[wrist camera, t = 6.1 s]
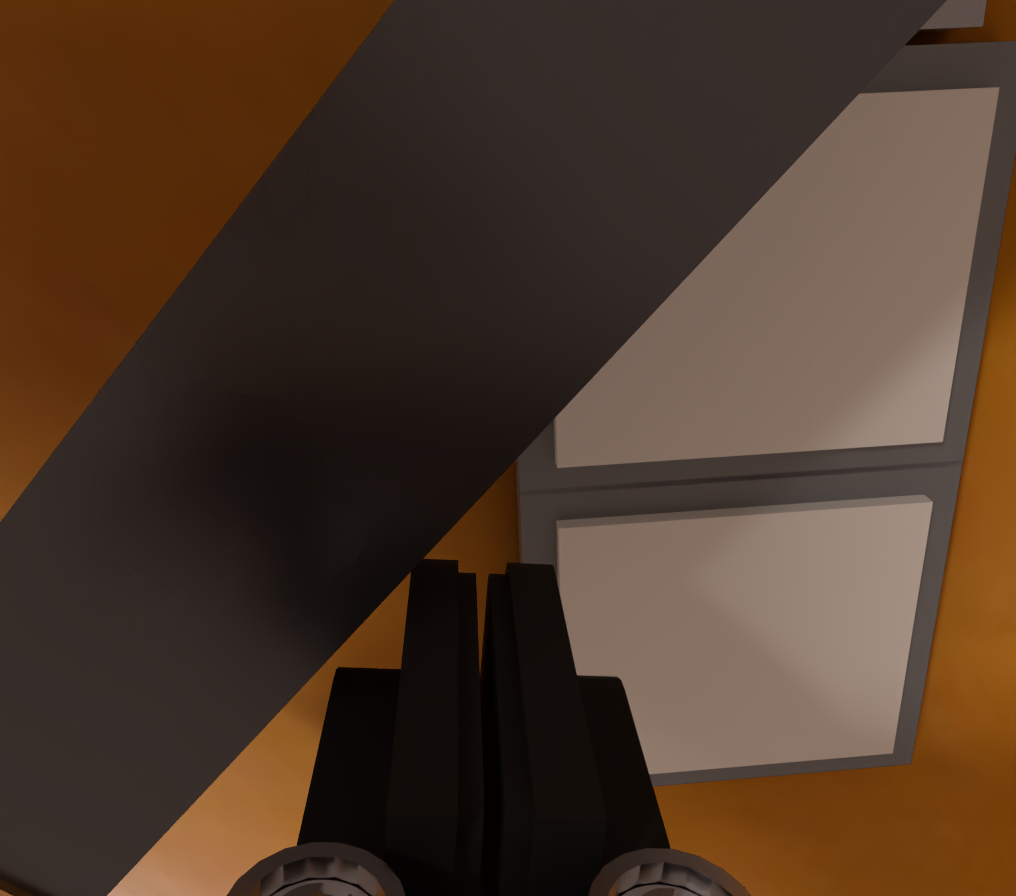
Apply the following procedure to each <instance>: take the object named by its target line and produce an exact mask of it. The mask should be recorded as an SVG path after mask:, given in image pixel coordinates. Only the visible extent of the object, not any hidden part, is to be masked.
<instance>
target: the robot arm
mask: <svg viewBox="0 0 1016 896" xmlns="http://www.w3.org/2000/svg"><path fill="white" fill-rule="evenodd" d="M227 896H751V895H750V894H749V893H748V891H747V890H746V889H745V887H744V886H742V885H741V884H740V883H739V882H738V881H737V880H735V879H734V878H733V877H732V876H731V875H729V874H728V873H727V872H726V871H725V870H723V869H722V868H720V867H718V866H716V865H714V864H712V863H710V862H709V861H707V860H705V859H703V858H701V857H699V856H696V855H693V854H689V853H685V852H681V851H678V850H674V849H671V848H670V845H669V841H668V838H667V834H666V831H665V827H664V824H663V820H662V817H661V813H660V810H659V806H658V803H657V799H656V796H655V792H654V789H653V786H652V782H651V779H650V775H649V772H648V768H647V765H646V761H645V758H644V754H643V751H642V747H641V744H640V740H639V737H638V733H637V730H636V727H635V723H634V720H633V716H632V713H631V709H630V706H629V702H628V699H627V695H626V692H625V688H624V686H623V683H622V681H621V679H620V678H618V677H613V676H584V675H577V673H576V669H575V664H574V659H573V654H572V650H571V645H570V640H569V635H568V630H567V626H566V621H565V616H564V611H563V607H562V602H561V597H560V592H559V588H558V583H557V578H556V573H555V569H554V566H553V565H552V564H529V563H507V565H506V571H505V574H489V577H488V586H487V598H486V610H485V623H484V635H483V647H482V660H481V672H480V673H479V645H478V618H477V591H476V573H458V560H437V559H422V560H421V561H420V562H419V563H418V564H417V566H416V567H415V568H414V569H413V570H412V571H411V578H410V588H409V597H408V607H407V617H406V626H405V636H404V646H403V655H402V665H401V669H377V668H348V667H338V668H337V670H336V672H335V676H334V680H333V684H332V689H331V693H330V698H329V702H328V707H327V711H326V716H325V720H324V725H323V729H322V734H321V738H320V743H319V747H318V752H317V757H316V761H315V766H314V770H313V775H312V779H311V784H310V788H309V793H308V797H307V802H306V806H305V811H304V815H303V820H302V824H301V829H300V833H299V838H298V842H297V846H294V847H290V848H285V849H283V850H281V851H279V852H277V853H275V854H273V855H271V856H269V857H267V858H265V859H263V860H261V861H259V862H258V863H257V864H256V865H254V866H253V867H252V868H251V869H250V870H248V871H247V872H246V873H245V874H244V875H243V876H241V877H240V878H239V879H238V880H237V881H236V883H235V884H234V886H233V887H232V889H231V890H230V892H229V893H228V894H227Z"/></svg>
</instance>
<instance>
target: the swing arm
mask: <svg viewBox="0 0 1016 896" xmlns="http://www.w3.org/2000/svg"><path fill="white" fill-rule="evenodd" d="M946 1H947V0H395V1H394V2H393V3H392V5H391V6H390V7H389V9H388V10H387V11H386V13H385V14H384V15H383V17H382V18H381V19H380V21H379V22H378V23H377V25H376V26H375V27H374V29H373V30H372V31H371V33H370V34H369V35H368V36H367V38H366V39H365V40H364V42H363V43H362V44H361V46H360V47H359V48H358V50H357V51H356V52H355V54H354V55H353V56H352V58H351V59H350V60H349V62H348V63H347V64H346V66H345V67H344V68H343V70H342V71H341V72H340V74H339V75H338V76H337V78H336V79H335V80H334V81H333V83H332V84H331V85H330V87H329V88H328V89H327V91H326V92H325V93H324V95H323V96H322V97H321V99H320V100H319V101H318V103H317V104H316V105H315V107H314V108H313V109H312V111H311V112H310V113H309V115H308V116H307V117H306V119H305V120H304V121H303V122H302V124H301V125H300V126H299V128H298V129H297V130H296V132H295V133H294V134H293V136H292V137H291V138H290V140H289V141H288V142H287V144H286V145H285V146H284V148H283V149H282V150H281V152H280V153H279V154H278V156H277V157H276V158H275V160H274V161H273V162H272V163H271V165H270V166H269V167H268V169H267V170H266V171H265V173H264V174H263V175H262V177H261V178H260V179H259V181H258V182H257V183H256V185H255V186H254V187H253V189H252V190H251V191H250V193H249V194H248V195H247V197H246V198H245V199H244V201H243V202H242V203H241V205H240V206H239V207H238V208H237V210H236V211H235V212H234V214H233V215H232V216H231V218H230V219H229V220H228V222H227V223H226V224H225V226H224V227H223V228H222V230H221V231H220V232H219V234H218V235H217V236H216V238H215V239H214V240H213V242H212V243H211V244H210V246H209V247H208V248H207V249H206V251H205V252H204V253H203V255H202V256H201V257H200V259H199V260H198V261H197V263H196V264H195V265H194V267H193V268H192V269H191V271H190V272H189V273H188V275H187V276H186V277H185V279H184V280H183V281H182V283H181V284H180V285H179V287H178V288H177V289H176V291H175V292H174V293H173V294H172V296H171V297H170V298H169V300H168V301H167V302H166V304H165V305H164V306H163V308H162V309H161V310H160V312H159V313H158V314H157V316H156V317H155V318H154V320H153V321H152V322H151V324H150V325H149V326H148V328H147V329H146V330H145V332H144V333H143V334H142V335H141V337H140V338H139V339H138V341H137V342H136V343H135V345H134V346H133V347H132V349H131V350H130V351H129V353H128V354H127V355H126V357H125V358H124V359H123V361H122V362H121V363H120V365H119V366H118V367H117V369H116V370H115V371H114V373H113V374H112V375H111V376H110V378H109V379H108V380H107V382H106V383H105V384H104V386H103V387H102V388H101V390H100V391H99V392H98V394H97V395H96V396H95V398H94V399H93V400H92V402H91V403H90V404H89V406H88V407H87V408H86V410H85V411H84V412H83V414H82V415H81V416H80V418H79V419H78V420H77V421H76V423H75V424H74V425H73V427H72V428H71V429H70V431H69V432H68V433H67V435H66V436H65V437H64V439H63V440H62V441H61V443H60V444H59V445H58V447H57V448H56V449H55V451H54V452H53V453H52V455H51V456H50V457H49V459H48V460H47V461H46V462H45V464H44V465H43V466H42V468H41V469H40V470H39V472H38V473H37V474H36V476H35V477H34V478H33V480H32V481H31V482H30V484H29V485H28V486H27V488H26V489H25V490H24V492H23V493H22V494H21V496H20V497H19V498H18V500H17V501H16V502H15V503H14V505H13V506H12V507H11V509H10V510H9V511H8V513H7V514H6V515H5V517H4V518H3V519H2V521H1V522H0V896H107V895H108V894H109V893H110V892H111V891H112V890H113V888H114V887H115V886H116V885H117V884H118V883H119V882H120V881H121V880H122V879H123V878H124V877H125V876H126V875H127V874H128V872H129V871H130V870H131V869H132V868H133V867H134V866H135V865H136V864H137V863H138V862H139V861H140V860H141V859H142V858H143V856H144V855H145V854H146V853H147V852H148V851H149V850H150V849H151V848H152V847H153V846H154V845H155V844H156V843H157V842H158V841H159V839H160V838H161V837H162V836H163V835H164V834H165V833H166V832H167V831H168V830H169V829H170V828H171V827H172V826H173V825H174V823H175V822H176V821H177V820H178V819H179V818H180V817H181V816H182V815H183V814H184V813H185V812H186V811H187V810H188V809H189V807H190V806H191V805H192V804H193V803H194V802H195V801H196V800H197V799H198V798H199V797H200V796H201V795H202V794H203V793H204V791H205V790H206V789H207V788H208V787H209V786H210V785H211V784H212V783H213V782H214V781H215V780H216V779H217V778H218V777H219V775H220V774H221V773H222V772H223V771H224V770H225V769H226V768H227V767H228V766H229V765H230V764H231V763H232V762H233V761H234V760H235V758H236V757H237V756H238V755H239V754H240V753H241V752H242V751H243V750H244V749H245V748H246V747H247V746H248V745H249V744H250V742H251V741H252V740H253V739H254V738H255V737H256V736H257V735H258V734H259V733H260V732H261V731H262V730H263V729H264V728H265V726H266V725H267V724H268V723H269V722H270V721H271V720H272V719H273V718H274V717H275V716H276V715H277V714H278V713H279V712H280V710H281V709H282V708H283V707H284V706H285V705H286V704H287V703H288V702H289V701H290V700H291V699H292V698H293V697H294V696H295V694H296V693H297V692H298V691H299V690H300V689H301V688H302V687H303V686H304V685H305V684H306V683H307V682H308V681H309V680H310V679H311V677H312V676H313V675H314V674H315V673H316V672H317V671H318V670H319V669H320V668H321V667H322V666H323V665H324V664H325V663H326V661H327V660H328V659H329V658H330V657H331V656H332V655H333V654H334V653H335V652H336V651H337V650H338V649H339V648H340V647H341V645H342V644H343V643H344V642H345V641H346V640H347V639H348V638H349V637H350V636H351V635H352V634H353V633H354V632H355V631H356V629H357V628H358V627H359V626H360V625H361V624H362V623H363V622H364V621H365V620H366V619H367V618H368V617H369V616H370V615H371V613H372V612H373V611H374V610H375V609H376V608H377V607H378V606H379V605H380V604H381V603H382V602H383V601H384V600H385V599H386V598H387V596H388V595H389V594H390V593H391V592H392V591H393V590H394V589H395V588H396V587H397V586H398V585H399V584H400V583H401V582H402V580H403V579H404V578H405V577H406V576H407V575H408V574H409V573H410V572H411V571H412V570H413V569H414V568H415V567H416V566H417V564H418V563H419V562H420V561H421V560H422V559H423V558H424V557H425V556H426V555H427V554H428V553H429V552H430V551H431V550H432V548H433V547H434V546H435V545H436V544H437V543H438V542H439V541H440V540H441V539H442V538H443V537H444V536H445V535H446V534H447V533H448V531H449V530H450V529H451V528H452V527H453V526H454V525H455V524H456V523H457V522H458V521H459V520H460V519H461V518H462V517H463V515H464V514H465V513H466V512H467V511H468V510H469V509H470V508H471V507H472V506H473V505H474V504H475V503H476V502H477V501H478V499H479V498H480V497H481V496H482V495H483V494H484V493H485V492H486V491H487V490H488V489H489V488H490V487H491V486H492V485H493V483H494V482H495V481H496V480H497V479H498V478H499V477H500V476H501V475H502V474H503V473H504V472H505V471H506V470H507V469H508V467H509V466H510V465H511V464H512V463H513V462H514V461H515V460H516V459H517V458H518V457H519V456H520V455H521V454H522V453H523V452H524V450H525V449H526V448H527V447H528V446H529V445H530V444H531V443H532V442H533V441H534V440H535V439H536V438H537V437H538V436H539V434H540V433H541V432H542V431H543V430H544V429H545V428H546V427H547V426H548V425H549V424H550V423H551V422H552V421H553V420H554V418H555V417H556V416H557V415H558V414H559V413H560V412H561V411H562V410H563V409H564V408H565V407H566V406H567V405H568V404H569V402H570V401H571V400H572V399H573V398H574V397H575V396H576V395H577V394H578V393H579V392H580V391H581V390H582V389H583V388H584V386H585V385H586V384H587V383H588V382H589V381H590V380H591V379H592V378H593V377H594V376H595V375H596V374H597V373H598V372H599V371H600V369H601V368H602V367H603V366H604V365H605V364H606V363H607V362H608V361H609V360H610V359H611V358H612V357H613V356H614V355H615V353H616V352H617V351H618V350H619V349H620V348H621V347H622V346H623V345H624V344H625V343H626V342H627V341H628V340H629V339H630V337H631V336H632V335H633V334H634V333H635V332H636V331H637V330H638V329H639V328H640V327H641V326H642V325H643V324H644V323H645V321H646V320H647V319H648V318H649V317H650V316H651V315H652V314H653V313H654V312H655V311H656V310H657V309H658V308H659V307H660V305H661V304H662V303H663V302H664V301H665V300H666V299H667V298H668V297H669V296H670V295H671V294H672V293H673V292H674V291H675V290H676V288H677V287H678V286H679V285H680V284H681V283H682V282H683V281H684V280H685V279H686V278H687V277H688V276H689V275H690V274H691V272H692V271H693V270H694V269H695V268H696V267H697V266H698V265H699V264H700V263H701V262H702V261H703V260H704V259H705V258H706V256H707V255H708V254H709V253H710V252H711V251H712V250H713V249H714V248H715V247H716V246H717V245H718V244H719V243H720V242H721V240H722V239H723V238H724V237H725V236H726V235H727V234H728V233H729V232H730V231H731V230H732V229H733V228H734V227H735V226H736V224H737V223H738V222H739V221H740V220H741V219H742V218H743V217H744V216H745V215H746V214H747V213H748V212H749V211H750V210H751V209H752V207H753V206H754V205H755V204H756V203H757V202H758V201H759V200H760V199H761V198H762V197H763V196H764V195H765V194H766V193H767V191H768V190H769V189H770V188H771V187H772V186H773V185H774V184H775V183H776V182H777V181H778V180H779V179H780V178H781V177H782V175H783V174H784V173H785V172H786V171H787V170H788V169H789V168H790V167H791V166H792V165H793V164H794V163H795V162H796V161H797V159H798V158H799V157H800V156H801V155H802V154H803V153H804V152H805V151H806V150H807V149H808V148H809V147H810V146H811V145H812V144H813V142H814V141H815V140H816V139H817V138H818V137H819V136H820V135H821V134H822V133H823V132H824V131H825V130H826V129H827V128H828V126H829V125H830V124H831V123H832V122H833V121H834V120H835V119H836V118H837V117H838V116H839V115H840V114H841V113H842V112H843V110H844V109H845V108H846V107H847V106H848V105H849V104H850V103H851V102H852V101H853V100H854V99H855V98H856V97H857V96H858V94H859V93H860V92H861V91H862V90H863V89H864V88H865V87H866V86H867V85H868V84H869V83H870V82H871V81H872V80H873V78H874V77H875V76H876V75H877V74H878V73H879V72H880V71H881V70H882V69H883V68H884V67H885V66H886V65H887V64H888V63H889V61H890V60H891V59H892V58H893V57H894V56H895V55H896V54H897V53H898V52H899V51H900V50H901V49H902V48H903V47H904V45H905V44H906V43H907V42H908V41H909V40H910V39H911V38H912V37H913V36H914V35H915V34H916V33H917V32H918V31H919V29H920V28H921V27H922V26H923V25H924V24H925V23H926V22H927V21H928V20H929V19H930V18H931V17H932V16H933V15H934V13H935V12H936V11H937V10H938V9H939V8H940V7H941V6H942V5H943V4H944V3H945V2H946Z"/></svg>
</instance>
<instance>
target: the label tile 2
mask: <svg viewBox="0 0 1016 896" xmlns="http://www.w3.org/2000/svg"><path fill="white" fill-rule="evenodd" d="M1015 154H1016V41H999V42H977V43H954V44H931V45H908V46H904V47H903V48H902V49H901V50H900V51H899V52H898V53H897V54H896V55H895V56H894V57H893V58H892V59H891V60H890V61H889V63H888V64H887V65H886V66H885V67H884V68H883V69H882V70H881V71H880V72H879V73H878V74H877V75H876V76H875V77H874V78H873V80H872V81H871V82H870V83H869V84H868V85H867V86H866V87H865V88H864V89H863V90H862V91H861V92H860V93H859V94H858V96H857V97H856V98H855V99H854V100H853V101H852V102H851V103H850V104H849V105H848V106H847V107H846V108H845V109H844V110H843V112H842V113H841V114H840V115H839V116H838V117H837V118H836V119H835V120H834V121H833V122H832V123H831V124H830V125H829V126H828V128H827V129H826V130H825V131H824V132H823V133H822V134H821V135H820V136H819V137H818V138H817V139H816V140H815V141H814V142H813V144H812V145H811V146H810V147H809V148H808V149H807V150H806V151H805V152H804V153H803V154H802V155H801V156H800V157H799V158H798V159H797V161H796V162H795V163H794V164H793V165H792V166H791V167H790V168H789V169H788V170H787V171H786V172H785V173H784V174H783V175H782V177H781V178H780V179H779V180H778V181H777V182H776V183H775V184H774V185H773V186H772V187H771V188H770V189H769V190H768V191H767V193H766V194H765V195H764V196H763V197H762V198H761V199H760V200H759V201H758V202H757V203H756V204H755V205H754V206H753V207H752V209H751V210H750V211H749V212H748V213H747V214H746V215H745V216H744V217H743V218H742V219H741V220H740V221H739V222H738V223H737V224H736V226H735V227H734V228H733V229H732V230H731V231H730V232H729V233H728V234H727V235H726V236H725V237H724V238H723V239H722V240H721V242H720V243H719V244H718V245H717V246H716V247H715V248H714V249H713V250H712V251H711V252H710V253H709V254H708V255H707V256H706V258H705V259H704V260H703V261H702V262H701V263H700V264H699V265H698V266H697V267H696V268H695V269H694V270H693V271H692V272H691V274H690V275H689V276H688V277H687V278H686V279H685V280H684V281H683V282H682V283H681V284H680V285H679V286H678V287H677V288H676V290H675V291H674V292H673V293H672V294H671V295H670V296H669V297H668V298H667V299H666V300H665V301H664V302H663V303H662V304H661V305H660V307H659V308H658V309H657V310H656V311H655V312H654V313H653V314H652V315H651V316H650V317H649V318H648V319H647V320H646V321H645V323H644V324H643V325H642V326H641V327H640V328H639V329H638V330H637V331H636V332H635V333H634V334H633V335H632V336H631V337H630V339H629V340H628V341H627V342H626V343H625V344H624V345H623V346H622V347H621V348H620V349H619V350H618V351H617V352H616V353H615V355H614V356H613V357H612V358H611V359H610V360H609V361H608V362H607V363H606V364H605V365H604V366H603V367H602V368H601V369H600V371H599V372H598V373H597V374H596V375H595V376H594V377H593V378H592V379H591V380H590V381H589V382H588V383H587V384H586V385H585V386H584V388H583V389H582V390H581V391H580V392H579V393H578V394H577V395H576V396H575V397H574V398H573V399H572V400H571V401H570V402H569V404H568V405H567V406H566V407H565V408H564V409H563V410H562V411H561V412H560V413H559V414H558V415H557V416H556V417H555V418H554V420H553V421H552V422H551V423H550V424H549V425H548V426H547V427H546V428H545V429H544V430H543V431H542V432H541V433H540V434H539V436H538V437H537V438H536V439H535V440H534V441H533V442H532V443H531V444H530V445H529V446H528V447H527V448H526V449H525V450H524V452H523V453H522V454H521V455H520V456H519V457H518V458H517V459H516V460H515V463H516V479H517V484H518V489H519V494H520V491H525V490H539V489H544V490H545V489H551V490H552V489H554V488H563V489H564V488H568V487H572V488H573V487H583V486H594V487H595V486H597V485H612V484H626V483H632V484H633V483H639V484H640V485H641V482H643V483H644V482H650V483H651V482H655V481H656V482H657V481H660V482H661V481H666V482H668V481H670V480H672V481H673V480H678V482H680V481H679V480H684V479H688V480H689V479H695V480H697V479H699V478H701V479H702V478H704V479H705V478H710V479H711V478H715V477H717V479H718V478H719V477H720V479H719V480H720V481H722V480H723V479H722V478H721V477H723V478H725V477H727V478H728V476H729V478H730V477H731V476H737V477H739V476H740V477H741V476H743V475H744V476H746V475H750V477H752V475H755V477H756V475H757V474H760V479H762V477H761V476H762V475H761V474H763V479H764V478H765V479H766V478H767V479H768V478H769V477H770V479H771V477H772V478H773V479H774V478H775V476H776V474H775V476H774V477H773V476H770V475H768V474H773V475H774V473H777V474H778V473H779V475H780V476H779V475H777V476H779V478H781V476H782V475H781V474H780V473H783V474H784V473H788V472H789V473H790V474H791V473H792V472H795V474H797V475H798V476H799V473H800V476H801V477H806V476H807V475H808V474H810V476H815V475H816V476H817V475H818V474H817V473H819V475H818V476H820V474H822V472H823V470H828V472H830V471H832V470H833V469H834V470H833V471H834V472H833V471H832V472H833V473H834V475H835V474H837V473H840V474H842V473H841V472H839V470H840V469H841V470H842V469H844V468H846V469H845V471H848V472H849V473H852V471H854V472H855V473H856V472H857V473H858V471H860V470H859V467H860V468H861V472H862V473H864V471H865V472H868V471H869V472H871V470H872V471H874V470H877V471H879V470H880V471H882V470H884V471H887V470H885V469H888V470H889V471H892V470H897V469H896V468H899V467H900V468H899V469H900V470H905V469H906V470H907V469H915V468H916V469H919V468H920V467H921V468H922V467H923V468H926V467H928V468H932V467H930V465H931V466H933V468H936V467H937V466H938V467H949V466H954V465H955V466H962V464H963V458H964V452H965V446H966V440H967V435H968V429H969V423H970V417H971V411H972V405H973V400H974V394H975V388H976V382H977V376H978V370H979V365H980V359H981V353H982V347H983V341H984V335H985V330H986V324H987V318H988V312H989V306H990V300H991V294H992V289H993V283H994V277H995V271H996V265H997V259H998V254H999V248H1000V242H1001V236H1002V230H1003V224H1004V219H1005V213H1006V207H1007V201H1008V195H1009V189H1010V184H1011V178H1012V172H1013V166H1014V160H1015ZM946 461H948V462H950V463H948V462H946ZM953 461H954V462H955V463H954V462H953ZM957 461H960V462H961V463H962V464H961V463H960V462H957ZM935 462H936V463H937V464H936V463H935ZM938 462H939V463H938ZM918 463H919V464H918ZM930 463H931V464H930ZM932 463H934V464H932ZM942 463H943V464H942ZM902 464H904V465H903V466H902ZM907 464H908V465H909V466H908V465H907ZM922 464H923V465H922ZM924 464H925V465H924ZM939 464H940V465H939ZM950 464H951V465H950ZM957 464H958V465H957ZM892 465H893V468H892ZM910 465H912V466H910ZM914 465H915V466H914ZM917 465H918V466H917ZM920 465H922V466H920ZM873 466H877V467H878V466H879V467H878V468H877V469H875V468H876V467H875V468H874V467H873ZM880 466H881V467H880ZM885 466H886V467H887V466H889V468H888V467H887V468H886V467H885ZM897 466H898V467H897ZM905 466H907V467H908V468H906V467H905ZM925 466H926V467H925ZM862 467H864V470H863V468H862ZM869 467H873V468H872V469H871V468H870V469H869V470H867V469H868V468H869ZM882 467H884V468H882ZM894 467H896V468H894ZM901 467H902V468H901ZM904 467H905V468H904ZM911 467H915V468H911ZM917 467H918V468H917ZM852 468H854V469H855V468H857V469H855V470H856V471H855V470H854V469H852ZM865 468H867V469H865ZM890 468H892V470H890ZM921 468H920V469H921ZM831 469H832V470H831ZM836 469H839V470H838V471H835V470H836ZM847 469H848V470H847ZM849 469H850V470H849ZM873 469H874V470H873ZM881 469H882V470H881ZM829 470H830V471H829ZM862 470H863V471H862ZM802 471H803V472H802ZM807 471H809V472H810V473H808V472H807ZM814 471H815V472H817V473H816V474H815V475H814ZM819 471H822V472H819ZM845 471H844V470H842V472H845ZM877 471H874V472H877ZM796 472H799V473H796ZM805 472H807V473H806V475H805V476H802V475H801V473H802V474H803V475H804V473H805ZM824 472H825V471H824ZM826 472H827V471H826ZM826 472H825V474H826ZM836 472H837V473H836ZM848 472H847V473H846V472H845V473H846V474H848ZM789 473H788V474H789ZM811 473H813V475H812V474H811ZM830 473H831V472H830ZM859 473H860V472H859ZM764 474H765V475H766V477H764V476H765V475H764ZM795 474H794V473H793V474H791V475H792V476H793V475H794V476H793V477H797V476H795ZM823 474H824V473H823ZM825 474H824V475H825ZM767 475H768V476H767ZM785 475H787V474H784V475H783V476H784V478H787V477H785ZM826 475H831V474H826ZM783 476H782V477H783ZM788 476H789V475H788ZM800 476H799V477H800ZM808 476H809V475H808ZM737 477H736V478H737ZM746 477H747V478H750V477H748V476H746ZM758 477H759V476H758ZM789 477H791V476H789ZM727 478H725V479H727ZM741 478H742V479H743V478H744V477H741ZM752 478H754V477H752ZM756 478H757V477H756ZM756 478H754V480H760V479H758V478H757V479H756ZM721 479H722V480H721ZM725 479H724V480H725ZM730 479H731V478H730ZM737 479H738V478H737ZM705 480H708V481H709V479H705ZM713 480H714V479H713ZM715 480H716V479H715ZM724 480H723V481H722V482H724ZM728 480H729V479H728ZM731 480H732V479H731ZM731 480H730V481H731ZM738 480H739V481H742V480H741V479H738ZM750 480H753V479H750ZM691 481H692V480H691ZM691 481H690V482H691ZM733 481H736V480H735V479H734V478H733ZM733 481H732V482H733ZM745 481H748V480H747V479H745ZM656 482H655V483H656ZM673 482H676V481H673ZM684 482H685V481H684ZM687 482H688V481H687ZM698 482H699V481H698ZM703 482H706V481H704V480H703ZM709 482H710V483H711V481H709ZM717 482H719V481H717ZM655 483H654V484H655ZM668 483H669V482H668ZM693 483H695V482H693ZM712 483H714V481H712ZM646 484H647V483H646ZM654 484H653V485H654ZM663 484H664V482H663ZM671 484H673V483H672V482H671ZM671 484H670V485H671ZM675 484H676V483H675ZM675 484H673V485H674V486H675ZM681 484H683V482H682V483H679V485H681ZM689 484H691V483H689ZM695 484H697V483H695ZM702 484H703V483H702ZM634 485H635V484H634ZM643 485H644V484H643ZM643 485H642V486H643ZM655 485H656V484H655ZM670 485H667V486H670ZM686 485H687V484H686ZM613 486H614V485H613ZM632 486H633V485H632ZM636 486H638V485H637V484H636ZM648 486H649V485H648ZM656 486H657V485H656ZM661 486H662V485H661ZM663 486H664V485H663ZM609 487H610V486H609ZM621 487H622V486H621ZM633 487H634V486H633ZM639 487H640V486H639ZM645 487H646V485H645ZM650 487H651V486H650ZM658 487H660V486H659V485H658ZM610 488H611V487H610ZM615 488H616V487H615ZM617 488H618V487H617ZM622 488H623V487H622ZM640 488H641V487H640ZM563 489H562V490H563ZM580 489H581V488H580ZM584 489H585V488H584ZM592 489H593V488H592ZM618 489H619V488H618ZM623 489H624V488H623ZM627 489H628V488H627ZM630 489H632V488H630ZM559 490H560V489H559ZM576 490H577V489H576ZM587 490H588V488H587ZM599 490H600V489H599ZM607 490H608V489H607ZM540 491H541V490H540ZM560 491H561V490H560ZM570 491H571V490H570ZM583 491H585V490H583ZM589 491H590V490H589ZM591 491H592V490H591ZM596 491H597V490H596ZM544 492H545V491H544ZM555 492H556V491H555ZM563 492H564V491H563ZM573 492H574V491H573ZM523 493H525V492H523ZM560 493H561V492H560ZM564 493H565V492H564ZM569 493H570V492H569ZM532 494H533V493H532ZM538 494H540V493H538ZM547 494H548V493H547ZM558 494H559V493H558ZM535 495H536V494H535ZM542 495H543V494H542Z"/></svg>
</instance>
